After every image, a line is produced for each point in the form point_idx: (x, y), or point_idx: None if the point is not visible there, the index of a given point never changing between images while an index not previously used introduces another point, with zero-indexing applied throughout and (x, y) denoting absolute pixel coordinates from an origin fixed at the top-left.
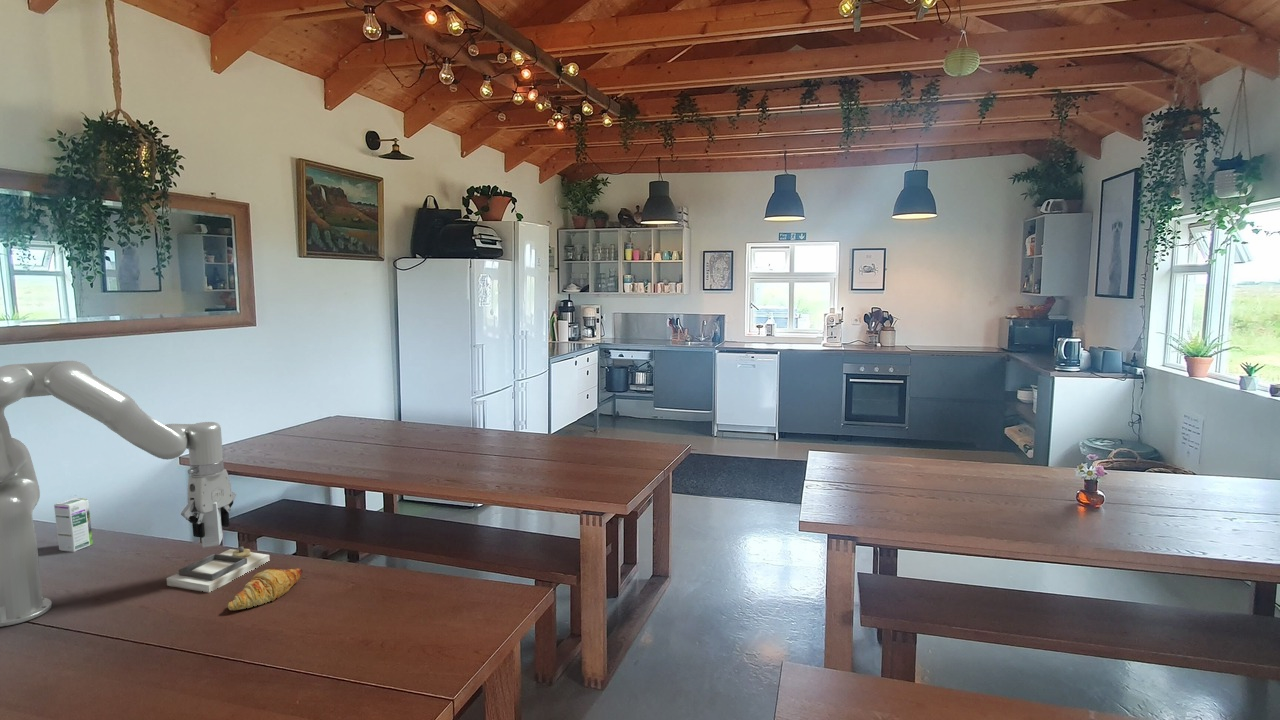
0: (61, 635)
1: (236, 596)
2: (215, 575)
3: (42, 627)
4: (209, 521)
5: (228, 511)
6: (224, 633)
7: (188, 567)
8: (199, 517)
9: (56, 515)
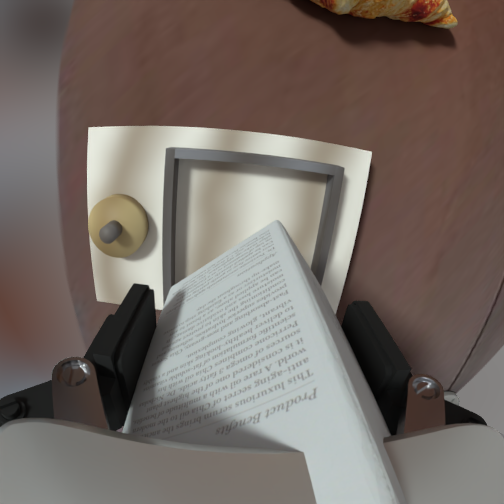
0: (501, 309)
1: (442, 7)
2: (328, 164)
3: (471, 358)
4: (353, 360)
5: (81, 366)
6: (491, 11)
7: None
8: (442, 417)
9: None
